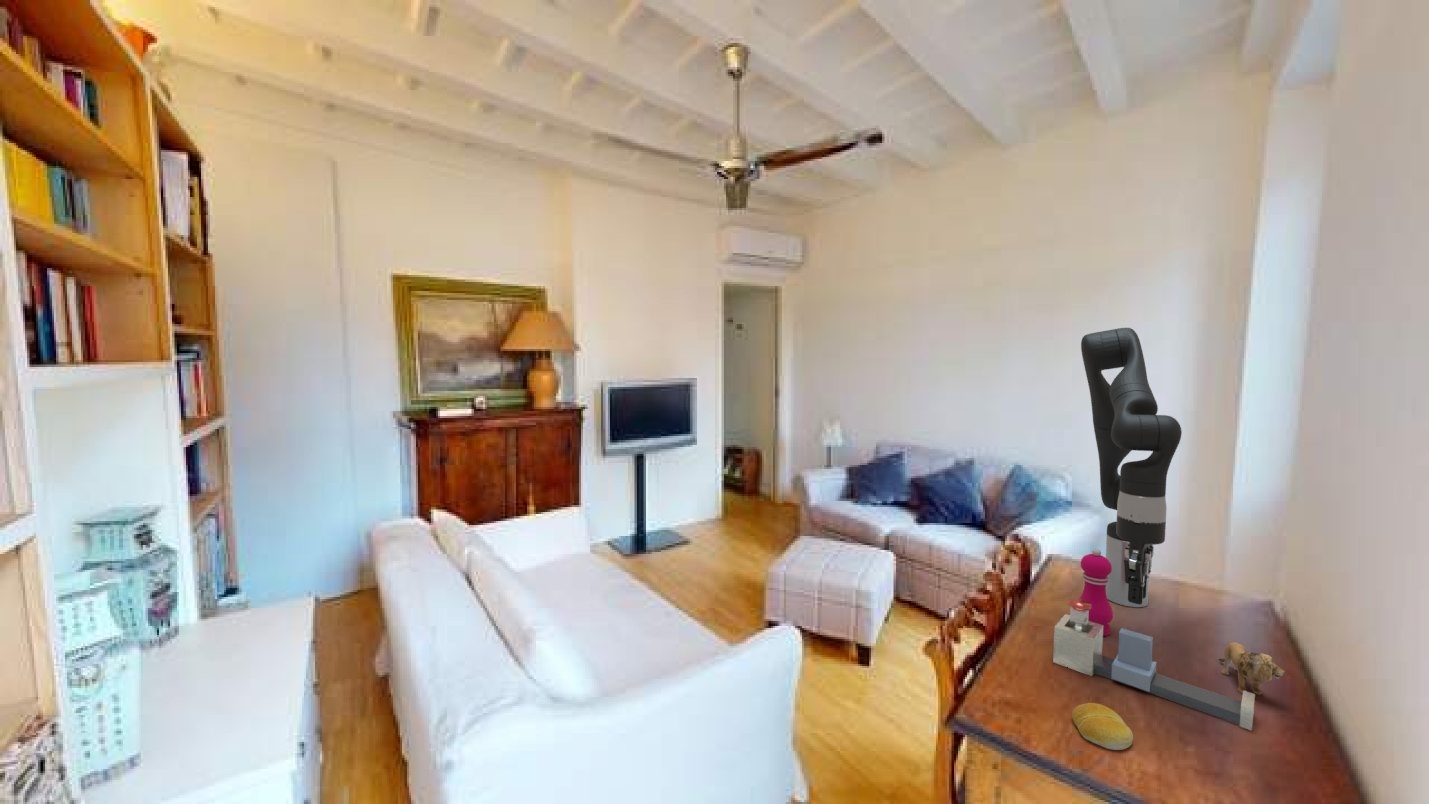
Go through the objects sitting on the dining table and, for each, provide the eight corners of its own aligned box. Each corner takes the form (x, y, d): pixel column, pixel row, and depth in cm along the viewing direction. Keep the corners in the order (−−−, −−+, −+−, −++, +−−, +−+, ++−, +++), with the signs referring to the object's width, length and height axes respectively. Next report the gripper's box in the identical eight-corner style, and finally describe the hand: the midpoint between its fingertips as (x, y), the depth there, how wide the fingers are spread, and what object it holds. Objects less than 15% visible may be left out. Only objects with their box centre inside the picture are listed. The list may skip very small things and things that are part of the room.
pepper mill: (1100, 622, 130) (1103, 543, 128) (1119, 638, 123) (1123, 554, 121) (1068, 621, 131) (1071, 543, 129) (1086, 637, 123) (1089, 554, 122)
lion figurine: (1286, 708, 98) (1290, 662, 97) (1251, 704, 99) (1254, 658, 98) (1233, 663, 112) (1235, 623, 111) (1202, 660, 113) (1205, 620, 112)
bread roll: (1087, 749, 89) (1088, 727, 89) (1066, 714, 98) (1066, 693, 98) (1144, 757, 87) (1145, 734, 87) (1117, 720, 96) (1118, 699, 96)
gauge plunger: (1070, 621, 116) (1071, 596, 115) (1092, 628, 113) (1093, 602, 112) (1065, 628, 113) (1066, 602, 113) (1087, 635, 110) (1088, 608, 110)
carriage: (1119, 664, 111) (1121, 623, 110) (1156, 676, 107) (1158, 633, 106) (1111, 678, 106) (1113, 635, 106) (1149, 692, 102) (1151, 647, 101)
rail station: (1064, 648, 119) (1065, 614, 118) (1253, 712, 97) (1256, 670, 96) (1053, 662, 114) (1054, 626, 113) (1251, 733, 92) (1254, 690, 91)
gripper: (1124, 504, 111) (1121, 583, 113) (1109, 519, 102) (1105, 605, 103) (1171, 511, 106) (1167, 594, 107) (1159, 528, 96) (1154, 618, 98)
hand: (1136, 599), depth 105 cm, fingers open, 3 cm apart
